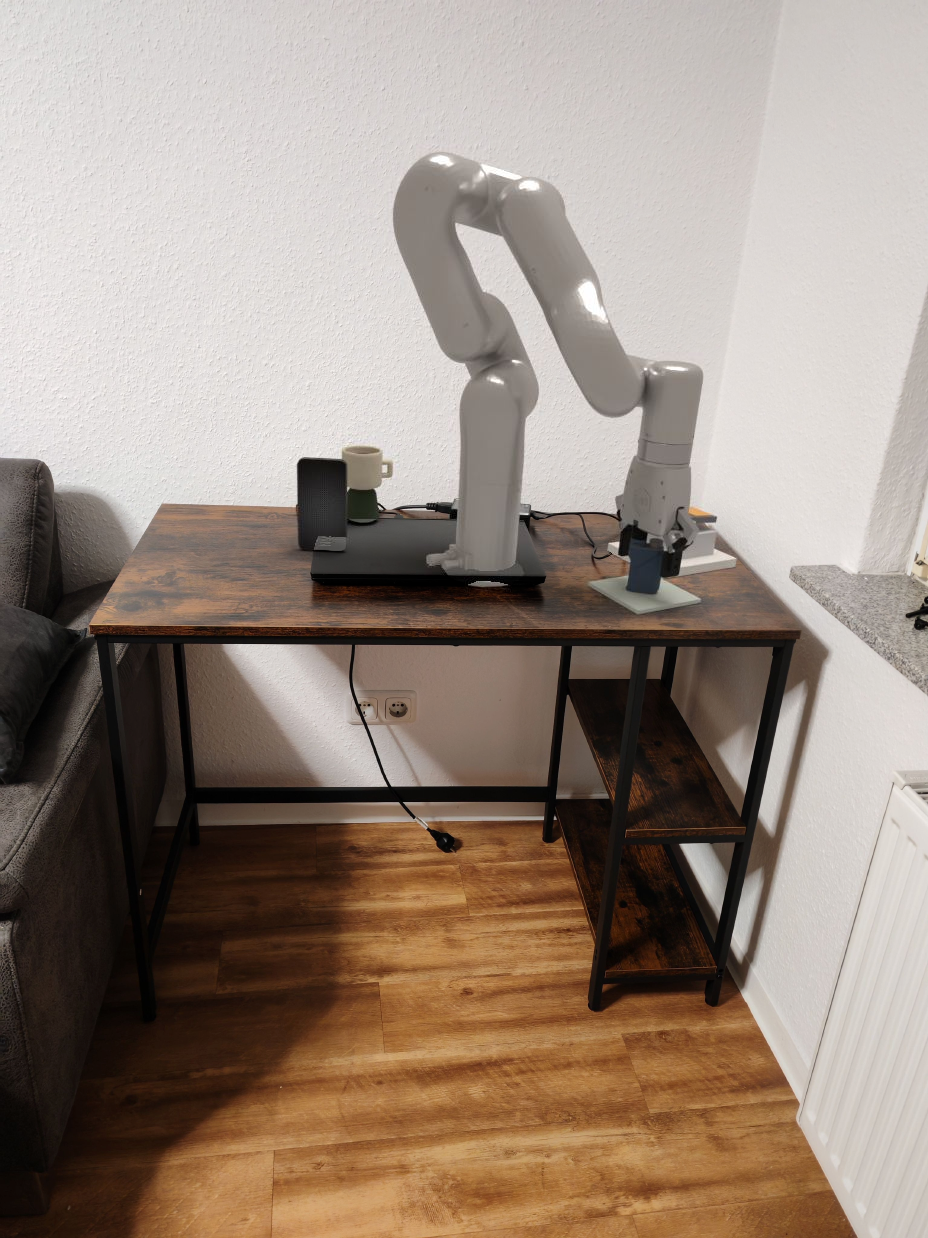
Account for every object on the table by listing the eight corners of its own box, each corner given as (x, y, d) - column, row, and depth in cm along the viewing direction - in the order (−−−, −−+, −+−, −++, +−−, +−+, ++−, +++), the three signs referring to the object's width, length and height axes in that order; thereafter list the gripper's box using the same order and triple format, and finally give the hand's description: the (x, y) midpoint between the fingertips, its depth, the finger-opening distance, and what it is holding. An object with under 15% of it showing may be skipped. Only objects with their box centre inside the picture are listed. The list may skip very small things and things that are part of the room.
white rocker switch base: (661, 579, 143) (668, 532, 140) (607, 551, 154) (612, 507, 151) (735, 566, 150) (743, 522, 147) (678, 541, 161) (685, 499, 158)
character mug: (387, 514, 166) (389, 444, 161) (395, 526, 160) (397, 454, 155) (328, 516, 163) (328, 444, 158) (333, 528, 157) (333, 454, 152)
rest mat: (637, 614, 129) (638, 610, 129) (587, 585, 138) (588, 581, 138) (700, 602, 135) (701, 598, 134) (648, 575, 144) (648, 572, 144)
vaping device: (624, 584, 138) (634, 509, 132) (659, 589, 137) (670, 513, 132) (623, 591, 135) (633, 515, 130) (658, 595, 134) (670, 519, 129)
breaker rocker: (661, 524, 144) (662, 517, 144) (637, 514, 149) (638, 507, 148) (715, 523, 150) (717, 515, 149) (691, 512, 155) (692, 505, 154)
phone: (347, 549, 147) (347, 459, 141) (346, 552, 146) (346, 460, 140) (298, 547, 147) (296, 456, 141) (297, 549, 146) (295, 458, 140)
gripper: (605, 440, 133) (592, 550, 140) (685, 468, 119) (666, 588, 126) (645, 437, 136) (630, 544, 143) (727, 464, 123) (706, 582, 130)
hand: (647, 565), depth 135 cm, fingers open, 9 cm apart
